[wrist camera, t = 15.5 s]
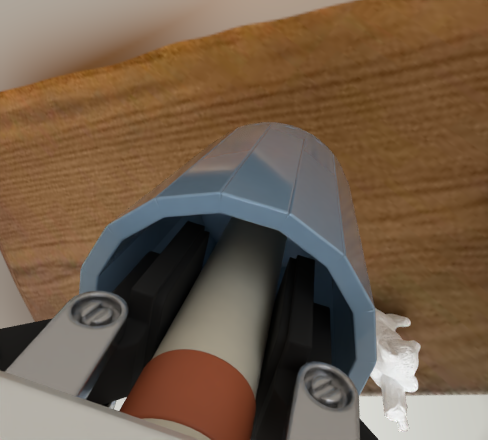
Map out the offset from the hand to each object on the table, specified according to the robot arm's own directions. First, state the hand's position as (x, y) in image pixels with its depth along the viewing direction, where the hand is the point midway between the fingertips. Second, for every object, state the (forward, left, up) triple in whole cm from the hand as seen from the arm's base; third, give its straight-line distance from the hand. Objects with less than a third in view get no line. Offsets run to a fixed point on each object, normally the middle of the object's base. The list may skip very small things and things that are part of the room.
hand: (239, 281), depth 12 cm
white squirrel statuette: (-16, +19, -29) cm, 38 cm away
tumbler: (0, 0, -7) cm, 7 cm away
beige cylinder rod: (0, 0, -7) cm, 7 cm away
